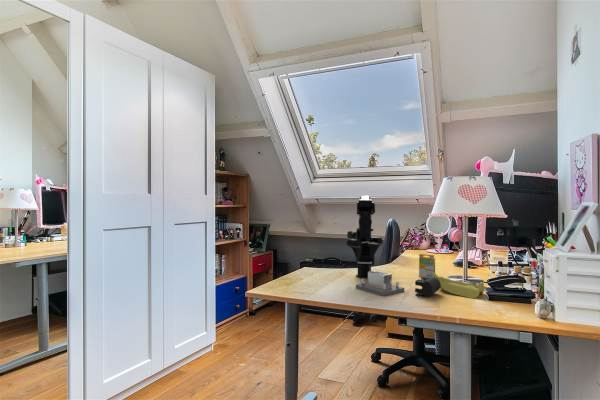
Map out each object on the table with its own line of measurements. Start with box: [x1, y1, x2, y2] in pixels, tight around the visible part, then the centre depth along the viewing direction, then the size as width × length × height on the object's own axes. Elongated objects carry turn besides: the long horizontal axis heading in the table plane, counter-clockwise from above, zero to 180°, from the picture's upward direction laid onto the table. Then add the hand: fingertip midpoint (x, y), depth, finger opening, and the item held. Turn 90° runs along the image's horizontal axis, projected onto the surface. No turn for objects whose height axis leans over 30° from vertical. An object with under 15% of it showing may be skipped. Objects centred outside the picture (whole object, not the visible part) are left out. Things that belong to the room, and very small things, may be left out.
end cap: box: [414, 277, 441, 298], centre depth 150 cm, size 10×7×7 cm
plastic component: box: [433, 272, 485, 299], centre depth 155 cm, size 20×7×10 cm
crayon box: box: [418, 253, 436, 278], centre depth 184 cm, size 7×3×12 cm, turn 57°
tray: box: [355, 278, 405, 297], centre depth 158 cm, size 13×16×4 cm
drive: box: [367, 270, 393, 288], centre depth 158 cm, size 5×9×6 cm, turn 37°
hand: (364, 259), depth 170 cm, fingers open, 9 cm apart
